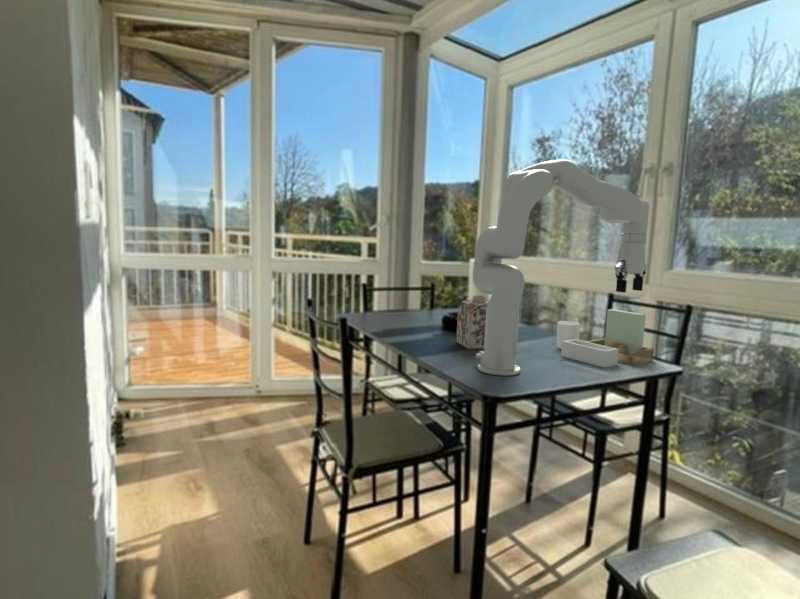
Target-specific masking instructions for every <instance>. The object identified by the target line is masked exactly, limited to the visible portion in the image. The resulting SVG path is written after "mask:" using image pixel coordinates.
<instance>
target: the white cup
mask: <svg viewBox="0 0 800 599" xmlns="http://www.w3.org/2000/svg"><path fill="white" fill-rule="evenodd" d="M556 323H557V324H556V342H557V343H556V347H557V348H558V349H561V350H562V341H566V340H573V339H577V340H580V332H581V323H580V322H577V321H573V320H558V321H557V322H556Z"/></svg>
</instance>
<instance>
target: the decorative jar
mask: <svg viewBox="0 0 800 599" xmlns="http://www.w3.org/2000/svg"><path fill="white" fill-rule="evenodd" d="M488 302H489V300H487V296H486V295H481V294H477V295H476V294H475V295H473V296H472V299H465V300H463V301H461V302H460V304H459V305H458V306H457V307H458V309H457V322H456V323H457V324H456V325H457V326H456V343H457V344H460V345H461V346H462V347H464V348H466V349H467V350H484V340H485V323H486V309H487V305H488Z"/></svg>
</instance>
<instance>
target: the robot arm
mask: <svg viewBox="0 0 800 599" xmlns="http://www.w3.org/2000/svg"><path fill="white" fill-rule="evenodd" d="M502 188H503V193H504V195H505V196H504V198H503V199H502V202H501V204H500V208H499V212H498V218H497V222H496V226H489V227H487V228H485V229H484V230H483V231H481V233H480V234H479V236H478V238H477V241H476V247H475V253H474V261H473V269H472V280H473V281H472V283H473V285H474V286H475V287H474V288H476V290H478V291H479V292H481V293H485V294H488V295H491V296H490V299H489V300H488V301H489V302H488V305H487V309H486V323H485V340H484V349H483V350H479V351H478V353H476V354H475V358H477V359H480V362H479V363H477V370H478V371H480V372H481V373H485V374H488V375H494V376H503V377H505V376H515V375H518V374H520V373H521V367H520V366H519V365H517V364H516V361H517V346H518V336H519V334H518V332H519V318H520V307H521V300H522V296H523V293H524V289H525V284H526V282H525V277H524V274H523V272H522V270H520V269H519V268H518V267H516V266H514V265H512V264H507V263H506V264H505V263H502V261H503V260H507V261H509V260H510V261H513V260H518V259H519V258H520V257H521V256H522V255H523V253H524V249H525V244H526V237H527V236H526V235H527V230H528V222H529V218H530V215H531V214H530V213H531V212H532V209H533V207H534V206H535V205H536V204H537V203H538V201H540V200H541V199H543V198H545V197H546V196H547V195H548V194H549V193H550V192H551V190H552V189H554V190H555V189H557V190H559V191H561V192H562V193H564V194H565V195H567V196H569V197H570V198H572V199H573V200H575V201H576V202H578V203H580V204H582V205H585V206H589V207H593V208H594V207H595V208H599V211H598V213H599V217H600V218H601V220H602V221H604V222H606V223H608V224H622V228H621V229H622V230H621V237H620V238H621V242H620V245H619V248H618V251H617V258H616V265H615V266H614V271H615V273H614V274H615V279H616V286H615V290H616V292H617V293H626V292H627V285H628V284H627V283H628V280H626V279H627V277H628V276H629V275H633V276H634V277H633V279H632V290H633V291H638V292H642V291H643V286H644V279H645V274H646V273H647V272H646V271H647V268H648V265H647V264H646V244H647V236H648V235H647V234H648V225H649V224H648V223H649V213H650V204H649V202H648V201H644V200H641V199H640V198H639V197H638V196H636V195H635V194H634V193H632V192H631V191H630V190H628V189H625V188H623V187H620V186H617V185H614V184H612V183H609V182H607V181H603V180H600V179H598V178H596V177H594V176H593V175H592V174H590V173H589V172H588V171H586V170H584V169H583V168H582V167H580V166H578V165H577V164H576V163H575V162H573V161H571V160H568V159H566V158H565V159H564V158H562V159H561V158H560V159H554V160H547V161H543V162H539V163H537V164H534V165H531V166H528V167H525V168H522V169H520V170H519V169H518V170H517V171H514V172H511V173H510V174H509V175H507V176H506V178H505V180H504V181H503V186H502Z"/></svg>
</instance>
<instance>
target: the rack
mask: <svg viewBox="0 0 800 599" xmlns="http://www.w3.org/2000/svg"><path fill="white" fill-rule="evenodd" d="M585 341H586V342H590V343H595V344H599V345H603V346H604V343H605V337H604V338H598V339H592V340H585ZM654 351H655V350H654V348H651V347H647V346H646V347H645V346H643V348H642V350H638V351H633V352H630V356H627V355H623V354H618V362H617V363H620V364H624V365H628V366H635V365H641V364H645V363H650V362H653V360H654Z"/></svg>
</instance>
